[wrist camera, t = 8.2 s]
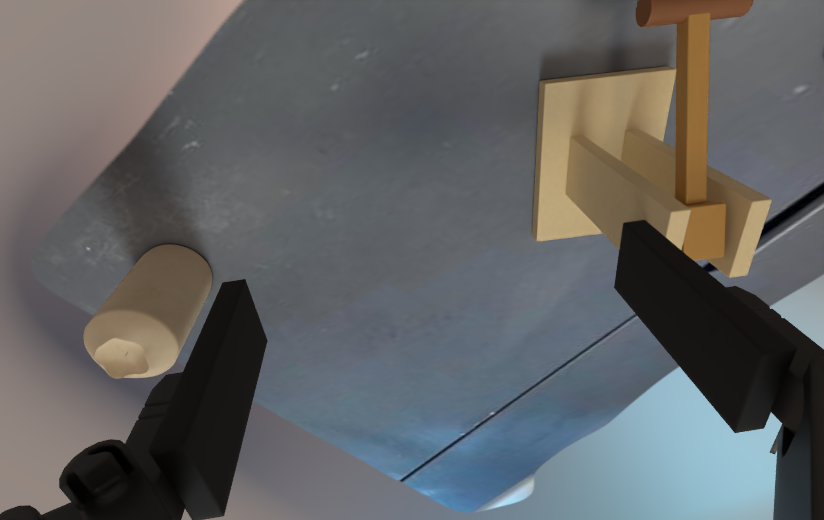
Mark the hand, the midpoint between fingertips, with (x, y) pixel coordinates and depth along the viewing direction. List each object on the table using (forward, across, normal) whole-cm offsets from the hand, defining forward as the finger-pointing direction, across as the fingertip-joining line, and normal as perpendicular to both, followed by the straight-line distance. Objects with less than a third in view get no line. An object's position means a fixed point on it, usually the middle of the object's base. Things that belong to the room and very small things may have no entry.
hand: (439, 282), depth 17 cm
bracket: (+19, +14, -4) cm, 24 cm away
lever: (+10, +14, +1) cm, 18 cm away
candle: (+20, -19, -9) cm, 28 cm away
